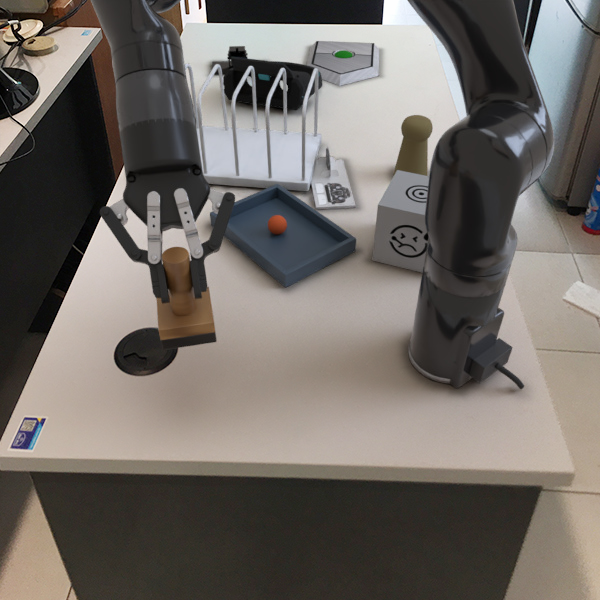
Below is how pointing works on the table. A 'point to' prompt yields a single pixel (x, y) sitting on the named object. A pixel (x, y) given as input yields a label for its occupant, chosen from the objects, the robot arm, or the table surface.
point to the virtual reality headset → (270, 82)
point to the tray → (286, 235)
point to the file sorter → (257, 143)
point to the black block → (232, 52)
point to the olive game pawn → (414, 145)
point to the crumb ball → (277, 224)
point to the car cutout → (331, 184)
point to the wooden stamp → (183, 306)
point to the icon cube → (402, 222)
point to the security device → (344, 61)
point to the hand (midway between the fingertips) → (182, 299)
